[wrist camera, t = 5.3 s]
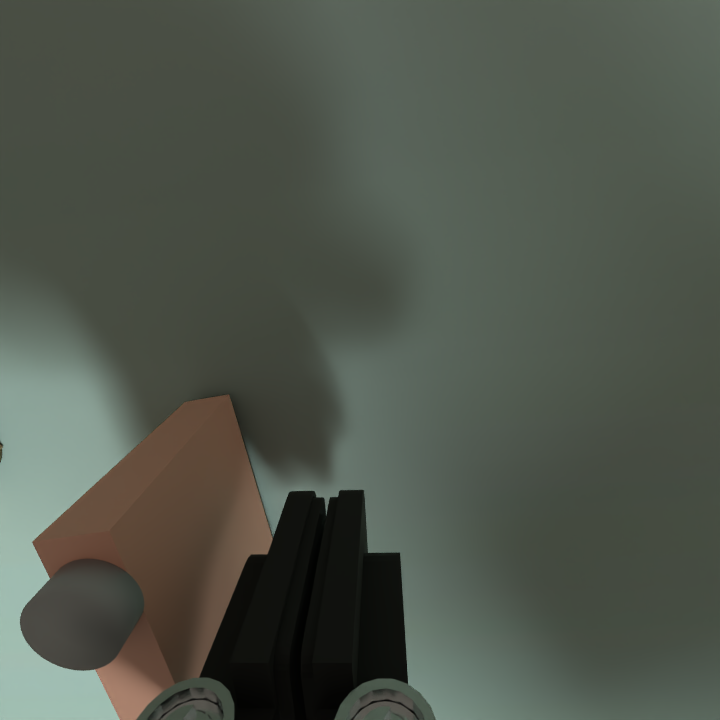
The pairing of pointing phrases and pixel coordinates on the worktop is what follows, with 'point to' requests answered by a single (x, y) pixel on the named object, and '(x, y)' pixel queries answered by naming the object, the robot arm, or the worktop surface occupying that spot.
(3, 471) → the worktop surface
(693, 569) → the worktop surface
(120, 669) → the rail
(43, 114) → the worktop surface
